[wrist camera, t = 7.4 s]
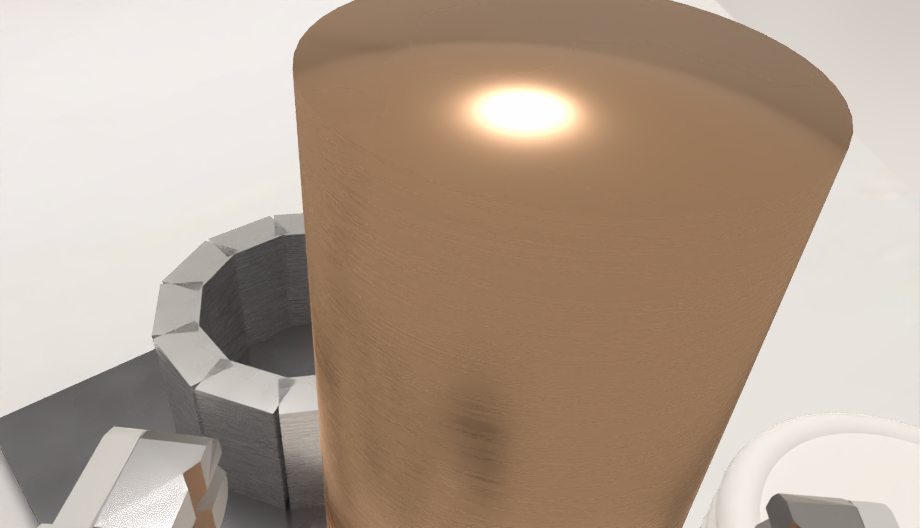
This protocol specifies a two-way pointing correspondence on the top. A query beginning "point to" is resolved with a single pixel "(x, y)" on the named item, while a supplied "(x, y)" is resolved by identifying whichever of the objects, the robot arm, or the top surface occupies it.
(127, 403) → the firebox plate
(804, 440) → the white round flat cylinder
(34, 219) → the top surface
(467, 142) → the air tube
